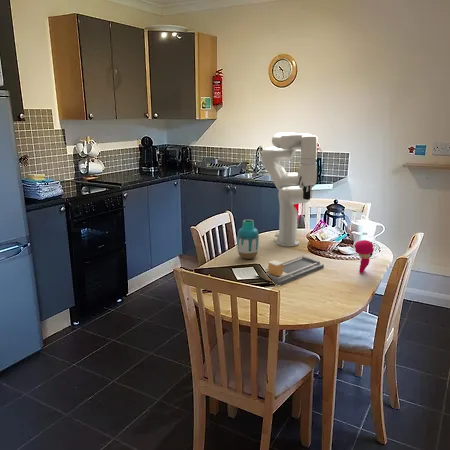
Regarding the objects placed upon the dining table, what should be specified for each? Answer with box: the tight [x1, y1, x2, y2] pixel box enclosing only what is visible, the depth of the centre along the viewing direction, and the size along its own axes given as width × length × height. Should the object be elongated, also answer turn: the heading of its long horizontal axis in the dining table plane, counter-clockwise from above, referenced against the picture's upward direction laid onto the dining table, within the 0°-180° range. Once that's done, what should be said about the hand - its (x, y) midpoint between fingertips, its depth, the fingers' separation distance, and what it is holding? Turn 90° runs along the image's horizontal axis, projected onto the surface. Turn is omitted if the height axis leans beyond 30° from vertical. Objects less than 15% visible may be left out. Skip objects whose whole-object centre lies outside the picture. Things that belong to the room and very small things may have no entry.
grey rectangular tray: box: [263, 255, 325, 286], centre depth 197 cm, size 31×14×3 cm, turn 131°
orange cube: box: [267, 259, 284, 276], centre depth 189 cm, size 4×5×5 cm
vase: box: [236, 219, 260, 260], centre depth 212 cm, size 11×11×19 cm
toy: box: [354, 239, 374, 274], centre depth 194 cm, size 8×8×15 cm
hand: (306, 199), depth 210 cm, fingers closed
